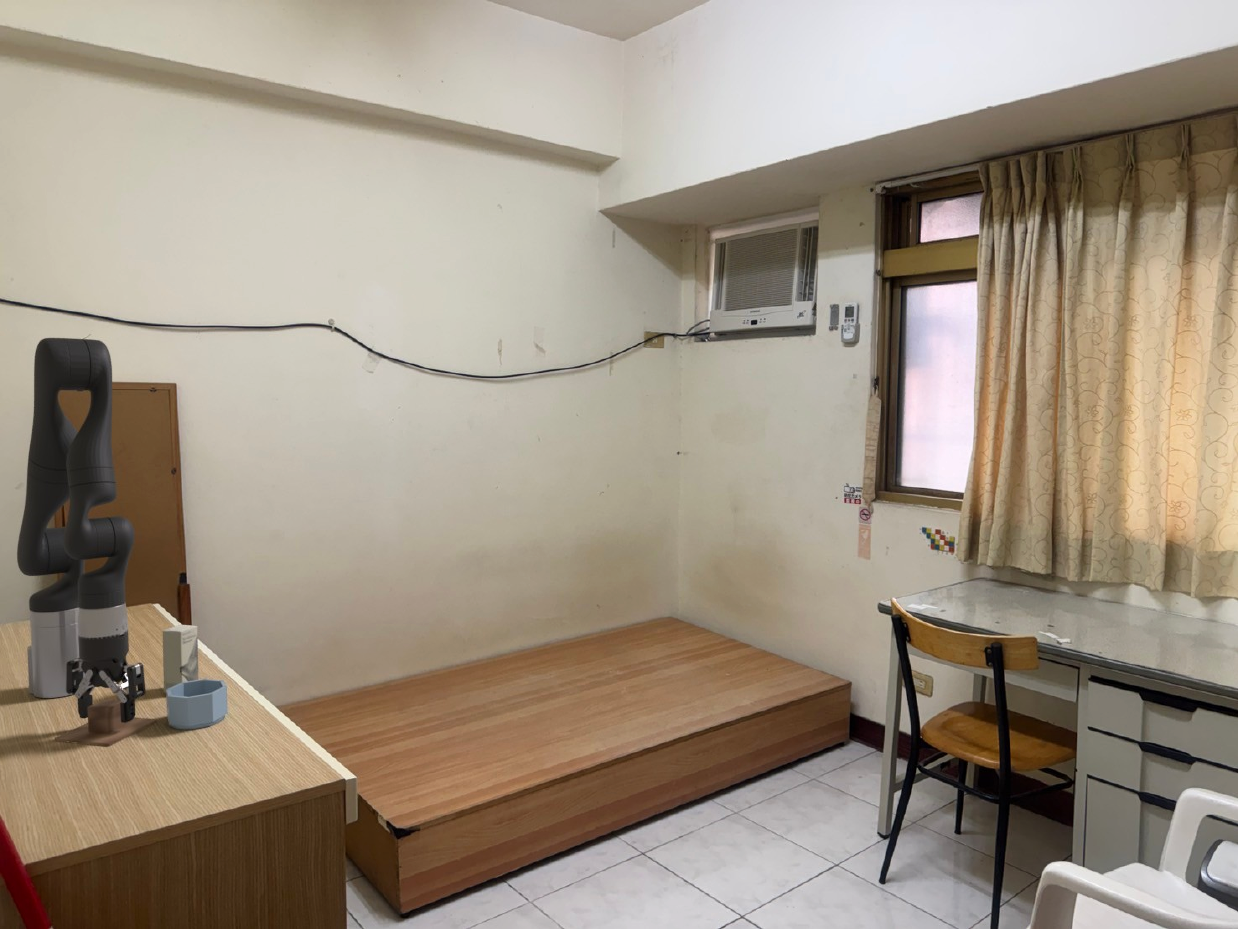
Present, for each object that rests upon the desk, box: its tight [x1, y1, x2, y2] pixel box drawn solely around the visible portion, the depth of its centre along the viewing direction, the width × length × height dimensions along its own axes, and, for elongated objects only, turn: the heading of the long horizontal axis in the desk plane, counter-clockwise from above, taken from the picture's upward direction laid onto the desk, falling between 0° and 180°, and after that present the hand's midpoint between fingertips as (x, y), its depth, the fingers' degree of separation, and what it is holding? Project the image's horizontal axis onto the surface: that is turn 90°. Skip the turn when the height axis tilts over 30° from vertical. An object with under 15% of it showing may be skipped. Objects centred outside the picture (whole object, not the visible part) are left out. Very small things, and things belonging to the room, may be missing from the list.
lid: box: [54, 698, 158, 747], centre depth 147 cm, size 11×11×6 cm
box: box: [162, 624, 200, 693], centre depth 168 cm, size 5×4×13 cm
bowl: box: [165, 678, 229, 731], centre depth 153 cm, size 10×10×6 cm
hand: (107, 719), depth 147 cm, fingers open, 8 cm apart
